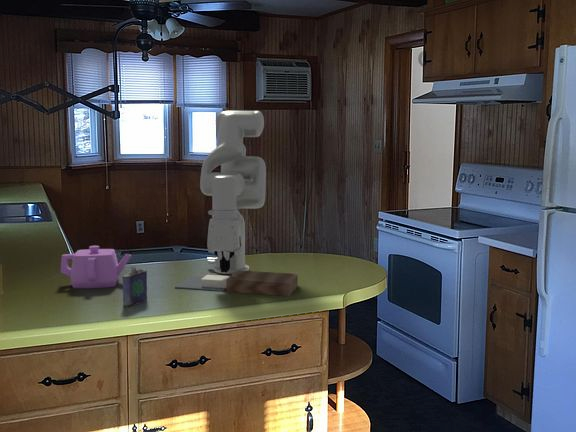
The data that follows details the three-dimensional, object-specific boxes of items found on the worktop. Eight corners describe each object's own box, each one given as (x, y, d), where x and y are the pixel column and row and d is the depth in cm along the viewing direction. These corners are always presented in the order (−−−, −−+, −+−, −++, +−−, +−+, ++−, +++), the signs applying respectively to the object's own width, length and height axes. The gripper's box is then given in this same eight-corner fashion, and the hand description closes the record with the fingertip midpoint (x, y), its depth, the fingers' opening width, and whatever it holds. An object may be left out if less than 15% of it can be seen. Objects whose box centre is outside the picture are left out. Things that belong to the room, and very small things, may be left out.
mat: (175, 288, 209) (175, 286, 209) (191, 277, 222) (191, 276, 222) (223, 291, 205) (223, 290, 205) (236, 280, 219) (236, 279, 219)
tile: (201, 286, 209) (201, 279, 209) (207, 281, 215) (207, 274, 215) (228, 288, 207) (228, 280, 207) (233, 283, 213) (233, 276, 213)
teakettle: (57, 284, 212) (55, 247, 210) (99, 274, 226) (98, 239, 224) (91, 293, 202) (90, 253, 200) (133, 282, 216) (132, 245, 214)
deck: (226, 291, 205) (226, 279, 204) (237, 282, 216) (237, 270, 216) (289, 295, 201) (289, 283, 200) (297, 286, 212) (297, 273, 211)
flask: (127, 307, 188) (126, 270, 186) (120, 306, 189) (118, 269, 188) (149, 299, 196) (148, 264, 194) (141, 298, 197) (140, 263, 196)
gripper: (197, 215, 206) (198, 272, 209) (244, 217, 202) (244, 275, 205) (206, 212, 213) (206, 267, 216) (250, 213, 210) (250, 270, 213)
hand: (225, 271), depth 211 cm, fingers closed
